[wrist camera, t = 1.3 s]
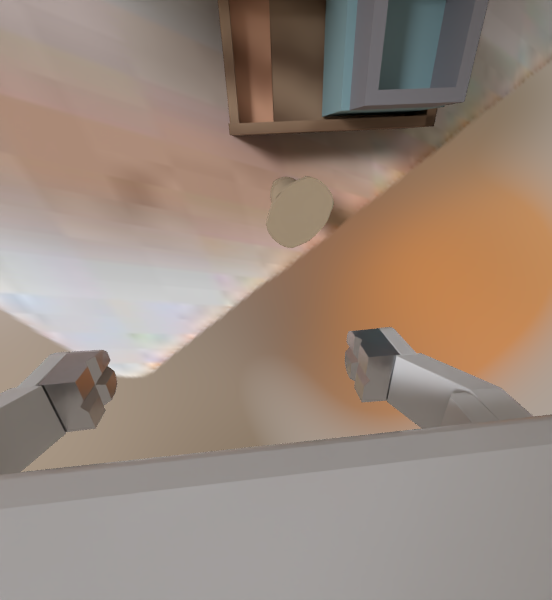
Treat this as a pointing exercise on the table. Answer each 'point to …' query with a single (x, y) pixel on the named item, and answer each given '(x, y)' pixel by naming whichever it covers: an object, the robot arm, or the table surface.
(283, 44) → the bay
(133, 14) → the table surface
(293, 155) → the table surface
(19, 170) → the table surface
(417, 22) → the box
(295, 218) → the handle
